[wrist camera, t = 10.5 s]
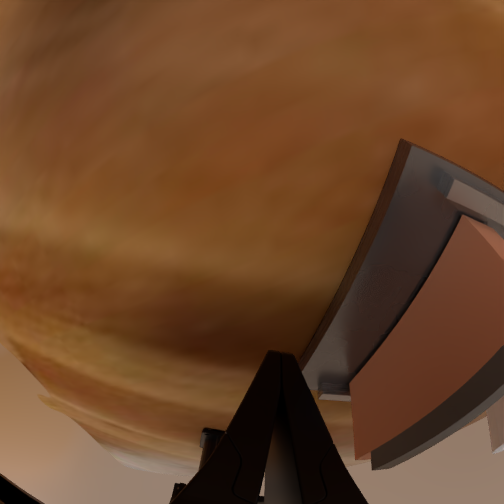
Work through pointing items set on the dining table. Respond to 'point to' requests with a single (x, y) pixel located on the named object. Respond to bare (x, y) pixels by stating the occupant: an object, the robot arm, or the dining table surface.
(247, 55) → the dining table surface
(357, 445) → the sliding jaw
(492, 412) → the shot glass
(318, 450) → the robot arm
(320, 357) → the vise base
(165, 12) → the dining table surface
